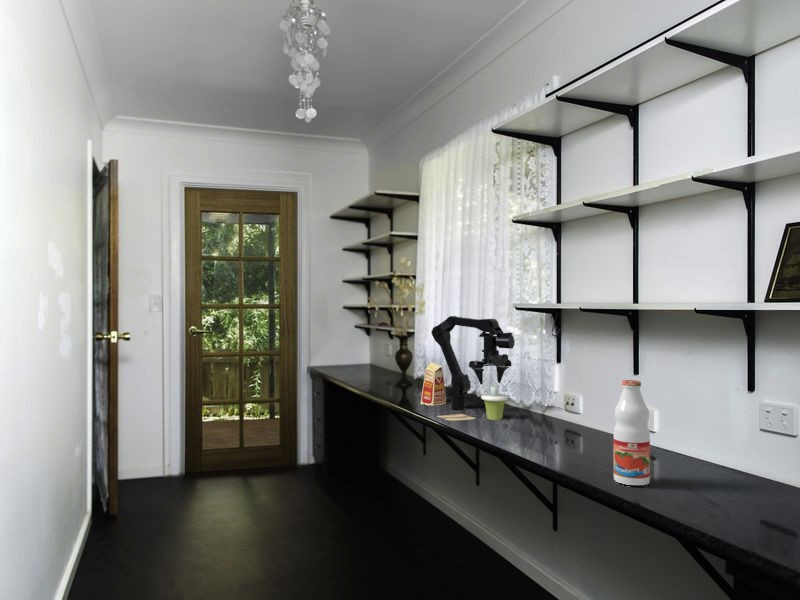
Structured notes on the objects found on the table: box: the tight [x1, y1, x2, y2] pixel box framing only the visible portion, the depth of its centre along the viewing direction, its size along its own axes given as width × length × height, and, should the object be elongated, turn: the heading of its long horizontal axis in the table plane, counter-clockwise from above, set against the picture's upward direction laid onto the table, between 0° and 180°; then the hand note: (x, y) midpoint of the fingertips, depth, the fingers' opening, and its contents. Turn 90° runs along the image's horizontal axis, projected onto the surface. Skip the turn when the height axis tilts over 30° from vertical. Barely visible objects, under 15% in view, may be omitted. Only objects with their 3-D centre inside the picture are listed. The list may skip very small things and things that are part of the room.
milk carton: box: [420, 361, 447, 407], centre depth 299 cm, size 9×9×20 cm
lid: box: [480, 385, 509, 402], centre depth 261 cm, size 11×11×5 cm
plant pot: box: [483, 400, 507, 421], centre depth 261 cm, size 9×9×9 cm
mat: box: [436, 413, 477, 422], centre depth 264 cm, size 12×12×1 cm
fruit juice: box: [613, 379, 651, 485], centre depth 174 cm, size 9×9×28 cm
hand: (490, 383), depth 275 cm, fingers open, 9 cm apart
